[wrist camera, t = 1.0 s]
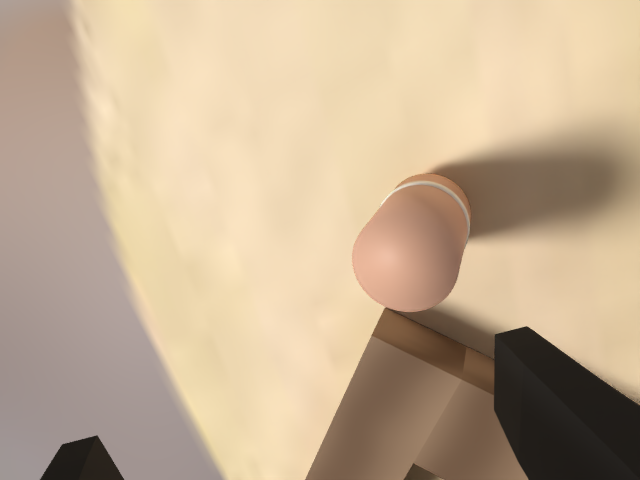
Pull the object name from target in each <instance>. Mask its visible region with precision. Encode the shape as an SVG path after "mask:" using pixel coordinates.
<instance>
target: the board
mask: <svg viewBox="0 0 640 480" xmlns="http://www.w3.org/2000/svg"><path fill="white" fill-rule="evenodd" d="M494 361H495V360H494V359H492V358H490V357H487V356H485V355H483V354H481V353H479V352H477V351H475V350H473V349H471V348H469V347H466V346H464V345H462V344H460V343H458V342H456V341H454V340H452V339H450V338H448V337H446V336H443V335H441V334H439V333H437V332H435V331H433V330H431V329H429V328H427V327H425V326H423V325H420V324H418V323H416V322H414V321H412V320H410V319H408V318H406V317H404V316H402V315H399V314H397V313H395V312H393V311H391V310H389V309H387V308H385V309H384V311H383V313H382V315H381V317H380V319H379V321H378V323H377V325H376V328H375V330H374V332H373V334H372V336H371V338H370V340H369V342H368V345H367V347H366V349H365V351H364V353H363V355H362V358H361V360H360V362H359V364H358V366H357V368H356V371H355V373H354V375H353V377H352V379H351V381H350V384H349V386H348V388H347V390H346V392H345V394H344V397H343V399H342V401H341V403H340V405H339V407H338V410H337V412H336V414H335V416H334V418H333V421H332V423H331V425H330V427H329V429H328V431H327V434H326V436H325V438H324V440H323V442H322V444H321V447H320V449H319V451H318V453H317V455H316V457H315V460H314V462H313V464H312V466H311V468H310V470H309V473H308V475H307V477H306V479H305V480H404V478H405V477H406V475H407V473H408V471H409V470H410V468H411V466H412V464H413V463H414V464H415V465H417V466H419V467H421V468H423V469H425V470H427V471H429V472H431V473H433V474H435V475H436V476H438V477H440V478H442V479H444V480H529V479H528V478H527V476H526V474H525V473H524V471H523V469H522V468H521V466H520V464H519V463H518V461H517V459H516V456H515V454H514V452H513V450H512V448H511V446H510V444H509V442H508V440H507V438H506V435H505V433H504V431H503V429H502V427H501V424H500V422H499V420H498V418H497V416H496V413H495V411H494Z"/></svg>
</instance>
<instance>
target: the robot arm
mask: <svg viewBox="0 0 640 480" xmlns="http://www.w3.org/2000/svg"><path fill="white" fill-rule="evenodd" d="M494 411H495V413H496V416H497V418H498V420H499V422H500V424H501V427H502V429H503V431H504V433H505V435H506V438H507V440H508V442H509V444H510V446H511V448H512V450H513V452H514V454H515V456H516V459H517V461H518V463H519V464H520V466H521V468H522V469H523V471H524V473H525V474H526V476H527V478H528V479H529V480H640V406H639V405H638V404H636V403H635V402H634V401H632V400H631V399H629V398H628V397H626V396H625V395H623V394H622V393H620V392H619V391H617V390H616V389H614V388H613V387H611V386H610V385H608V384H607V383H606V382H604V381H603V380H601V379H600V378H598V377H597V376H596V375H594V374H593V373H591V372H590V371H589V370H587V369H586V368H584V367H583V366H582V365H580V364H579V363H577V362H576V361H575V360H573V359H572V358H570V357H569V356H568V355H566V354H565V353H564V352H562V351H561V350H559V349H558V348H557V347H555V346H554V345H553V344H551V343H550V342H548V341H547V340H546V339H544V338H543V337H542V336H540V335H539V334H537V333H536V332H535V331H533V330H532V329H530V328H529V327H527V326H526V327H522V328H518V329H514V330H510V331H507V332H503V333H499V334H495V361H494ZM40 480H124V478H123V477H122V475H121V474H120V472H119V470H118V469H117V467H116V465H115V464H114V462H113V460H112V459H111V457H110V455H109V454H108V452H107V450H106V449H105V447H104V445H103V444H102V442H101V441H100V439H99V437H98V436H93V437H89V438H86V439H82V440H78V441H74V442H70V443H66V444H63V445H62V446H61V447H60V449H59V450H58V452H57V453H56V455H55V457H54V458H53V460H52V461H51V463H50V464H49V466H48V468H47V469H46V471H45V472H44V474H43V476H42V477H41V479H40Z"/></svg>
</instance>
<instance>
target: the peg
mask: <svg viewBox="0 0 640 480" xmlns="http://www.w3.org/2000/svg"><path fill="white" fill-rule="evenodd" d="M470 222H471V209H470V204H469V201H468V199H467V197H466V195H465V194H464V192H463V191H462V190H461V188H460V187H459V186H458V185H457V184H455V183H454V182H453V181H451V180H449V179H447V178H445V177H443V176H440V175H436V174H419V175H415V176H412V177H409V178H407V179H406V180H404V181H402V182H401V183H400V184H399V185H398V186H397V187H396V188H395V189H394V190H393V191H392V192H391V193H390V194H389V195H388V196H387V197H386V198H385V199H384V201H383V202H382V204H381V205H380V207H379V209H378V210H377V212H376V213H375V214H374V216H373V217H372V218H371V219H370V221H369V222H368V223H367V224H366V226H365V227H364V228H363V229H362V231H361V232H360V234H359V235H358V237H357V239H356V241H355V244H354V247H353V252H352V264H353V269H354V273H355V276H356V278H357V280H358V282H359V284H360V285H361V287H362V288H363V290H364V291H365V292H366V293H367V294H368V295H369V296H370V297H371V298H372V299H373V300H375V301H376V302H378V303H379V304H381V305H383V306H385V307H387V308H390V309H393V310H397V311H403V312H417V311H422V310H426V309H429V308H431V307H433V306H435V305H437V304H439V303H440V302H442V301H443V300H444V299H445V298H446V297H447V296H448V295H449V293H450V292H451V291H452V289H453V287H454V285H455V283H456V281H457V277H458V273H459V269H460V264H461V260H462V256H463V252H464V249H465V246H466V244H467V241H468V237H469V232H470Z"/></svg>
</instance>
